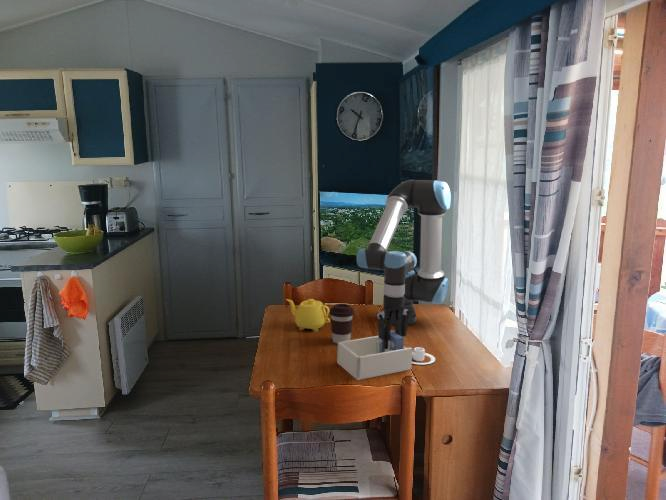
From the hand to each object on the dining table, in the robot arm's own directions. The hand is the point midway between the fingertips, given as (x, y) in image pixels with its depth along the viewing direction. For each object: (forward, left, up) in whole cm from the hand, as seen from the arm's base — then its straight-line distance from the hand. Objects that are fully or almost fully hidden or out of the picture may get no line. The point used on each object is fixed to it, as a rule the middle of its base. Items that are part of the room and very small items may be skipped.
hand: (391, 355), depth 202 cm
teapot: (+13, -48, -3) cm, 50 cm away
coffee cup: (+7, -27, -3) cm, 28 cm away
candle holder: (-12, +1, -3) cm, 12 cm away
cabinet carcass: (+7, 0, -3) cm, 8 cm away
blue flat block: (0, 0, 0) cm, 0 cm away
